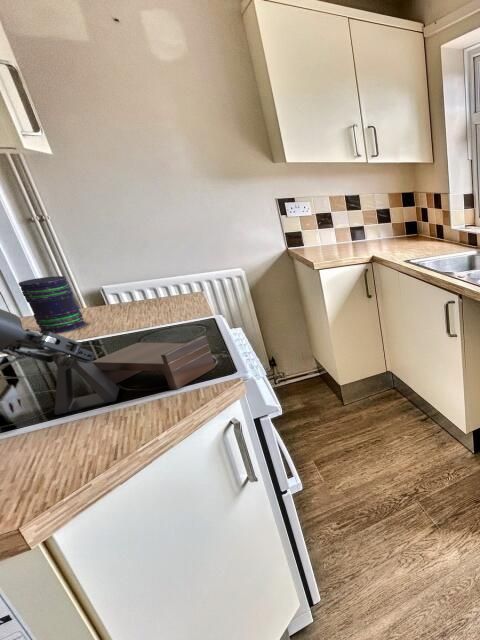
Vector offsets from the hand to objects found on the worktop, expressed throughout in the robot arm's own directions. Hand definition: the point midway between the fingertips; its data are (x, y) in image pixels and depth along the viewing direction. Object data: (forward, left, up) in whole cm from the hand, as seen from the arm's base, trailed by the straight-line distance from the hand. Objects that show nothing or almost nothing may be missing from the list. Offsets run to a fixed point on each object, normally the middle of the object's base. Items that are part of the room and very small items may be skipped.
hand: (72, 358), depth 82 cm
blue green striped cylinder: (-55, +41, -10) cm, 69 cm away
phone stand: (0, 0, -10) cm, 10 cm away
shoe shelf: (+5, +11, -10) cm, 15 cm away
